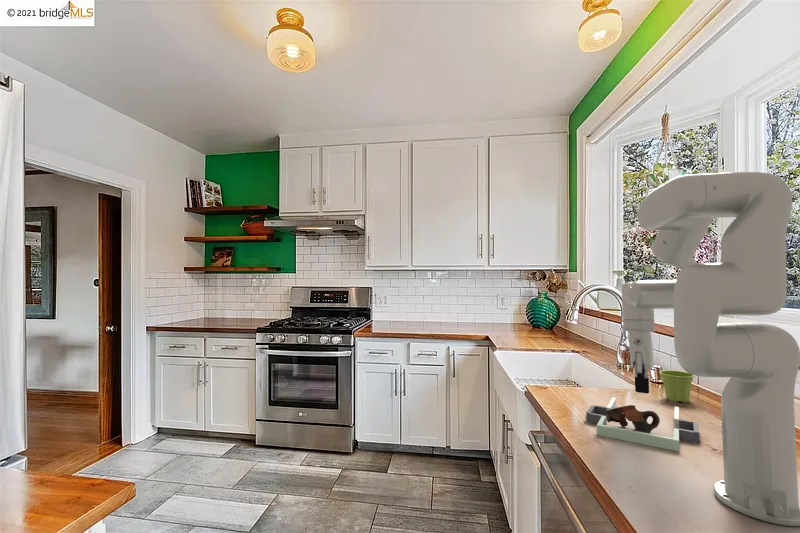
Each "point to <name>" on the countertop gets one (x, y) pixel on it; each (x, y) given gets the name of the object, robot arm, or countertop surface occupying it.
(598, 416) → the pale green flat frame
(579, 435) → the countertop surface
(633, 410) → the pottery mug
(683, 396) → the plant pot
